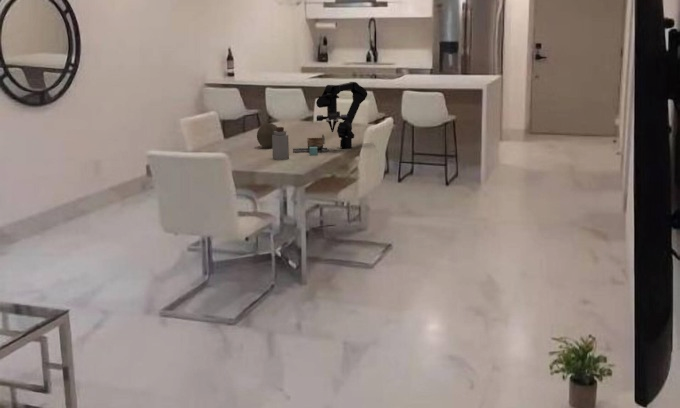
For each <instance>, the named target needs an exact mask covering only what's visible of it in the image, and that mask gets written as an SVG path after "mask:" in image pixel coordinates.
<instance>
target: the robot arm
mask: <svg viewBox="0 0 680 408" xmlns="http://www.w3.org/2000/svg"><path fill="white" fill-rule="evenodd" d="M344 91H350V92H351V93H352V102H351V105H350V106H349V109H348V111H347V113H346V114H341V111H338V107H337V105H338V103H337V100H338V99H339V98H340V96H339V94H340V93H341V92H344ZM367 97H368V91H367V90H366V89H365V88H364V87H363V86H362V85H359V83H358V82H356V81H349V82H345V83H341V84H340V83H339V84H327V85H325V88H324V90H323V93H321V95H318V98H317V99H316V103H315V104H316V106H317V108H321V109H322V108H326V109H327V112H326V113H327V115H326V116H324V115H323V114H320V115H319V114H318V115H316V121H317V122H323V121H324V120H325V122H326V123H328V126H329V127H330V130H331V133H334V130H335V127H336V124H337V123H338V122H339V123H338V126H337V128H336V132H337V135H338V138H341V139H340V140H339V143H340V149H353V146H352V145H353V143H352V141H353V139H354V138H355V134H354V132H353V131H352V130H353V125H352V124H353V121H354V120H355V116H356V115H357V112H358V110H359V108H360V105H361V104H362V103H363V102H364V101H365V100H366V98H367ZM340 120H342V121H340Z"/></svg>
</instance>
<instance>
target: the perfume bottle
mask: <svg viewBox="0 0 680 408" xmlns="http://www.w3.org/2000/svg"><path fill="white" fill-rule="evenodd" d="M284 129H285V128H284V127H283V126H277V127H276V131H274V134H275V135H272V147H271V148H272V159H274V160H277V161H281V160H283V161H284V160H288V159H289V158H290V147H289V146H290V145H289V135H288V134H287V131H286V130H284Z"/></svg>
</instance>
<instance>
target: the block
mask: <svg viewBox="0 0 680 408" xmlns="http://www.w3.org/2000/svg"><path fill="white" fill-rule="evenodd" d="M309 152H310V153H309ZM309 152H308V153H309V156H315V157H316V156H318V152H317V147H309Z"/></svg>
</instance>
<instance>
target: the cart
mask: <svg viewBox="0 0 680 408" xmlns="http://www.w3.org/2000/svg"><path fill="white" fill-rule="evenodd" d="M325 138H326V137H325V134H321V137H308V138H307V141H306V142H307V148H308V149H309V147H317V148H318V149H319V150H322V149H323V148H324V147H323V146H324V145H325V144H326V142H325V141H326V139H325Z"/></svg>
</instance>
